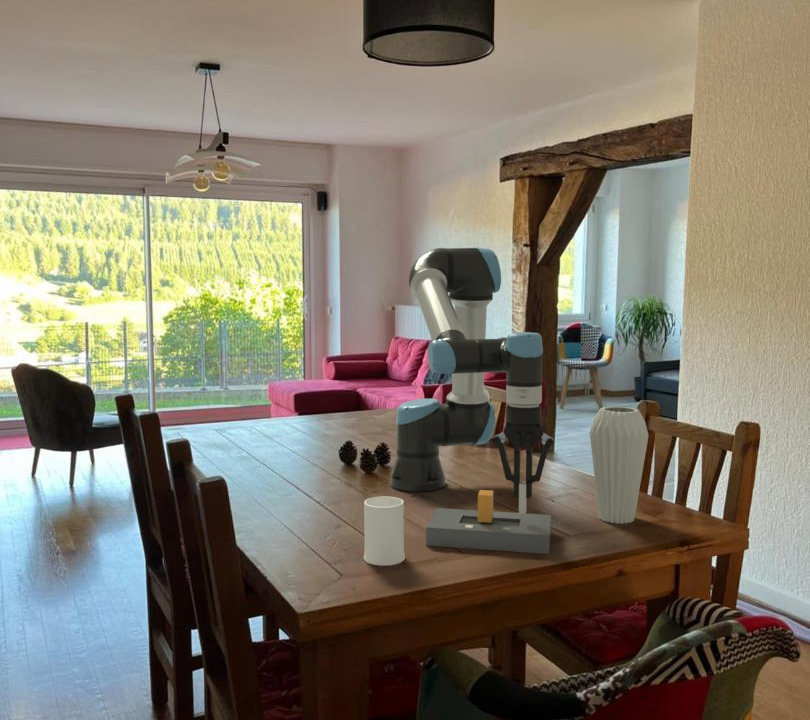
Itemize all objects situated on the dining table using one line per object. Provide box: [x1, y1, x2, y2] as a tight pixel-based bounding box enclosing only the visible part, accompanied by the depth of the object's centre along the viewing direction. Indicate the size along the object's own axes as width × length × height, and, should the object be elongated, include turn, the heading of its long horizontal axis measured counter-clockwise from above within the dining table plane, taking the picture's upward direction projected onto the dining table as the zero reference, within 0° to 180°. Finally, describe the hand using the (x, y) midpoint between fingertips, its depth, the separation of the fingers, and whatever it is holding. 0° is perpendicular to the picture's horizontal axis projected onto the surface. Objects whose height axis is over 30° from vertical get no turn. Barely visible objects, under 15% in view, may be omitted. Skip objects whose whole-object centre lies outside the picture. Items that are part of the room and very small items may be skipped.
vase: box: [589, 405, 650, 525], centre depth 186 cm, size 13×13×26 cm
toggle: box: [477, 489, 494, 523], centre depth 173 cm, size 3×4×6 cm
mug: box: [363, 495, 406, 567], centre depth 163 cm, size 12×8×12 cm
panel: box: [425, 507, 552, 555], centre depth 174 cm, size 26×14×4 cm, turn 78°
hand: (522, 512), depth 171 cm, fingers closed
